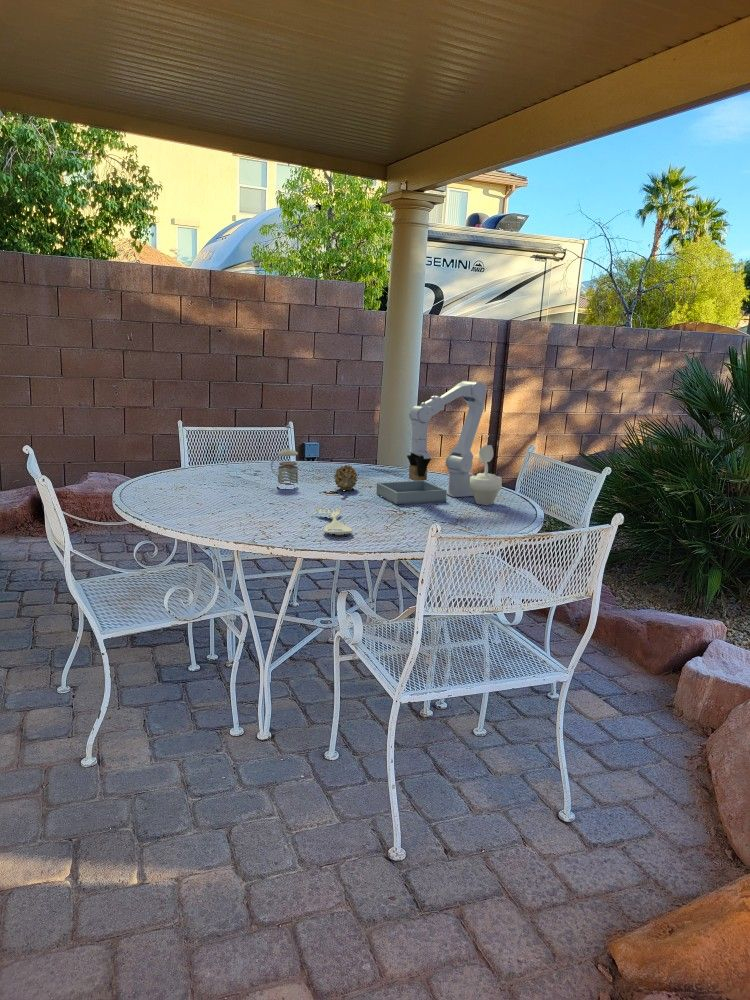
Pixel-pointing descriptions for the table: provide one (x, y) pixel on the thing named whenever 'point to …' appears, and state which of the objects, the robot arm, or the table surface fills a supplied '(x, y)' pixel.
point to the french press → (287, 467)
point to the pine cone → (345, 477)
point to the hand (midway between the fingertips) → (418, 475)
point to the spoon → (335, 523)
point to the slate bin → (411, 492)
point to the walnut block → (416, 473)
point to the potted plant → (485, 479)
